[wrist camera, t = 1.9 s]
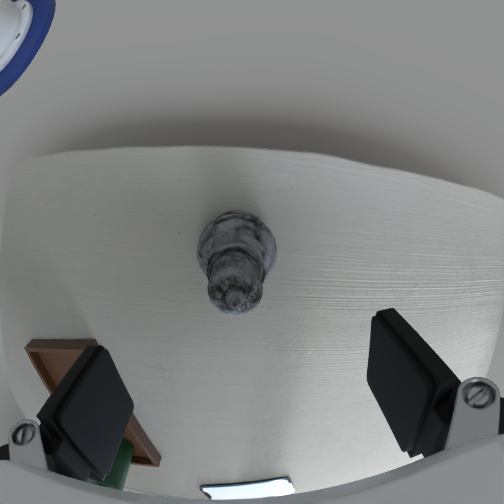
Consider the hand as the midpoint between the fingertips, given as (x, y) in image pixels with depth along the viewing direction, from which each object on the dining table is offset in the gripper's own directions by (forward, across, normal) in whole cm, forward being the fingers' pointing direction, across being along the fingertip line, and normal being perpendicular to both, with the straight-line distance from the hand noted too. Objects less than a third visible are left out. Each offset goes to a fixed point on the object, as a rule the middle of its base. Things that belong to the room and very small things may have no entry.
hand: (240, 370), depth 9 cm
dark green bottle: (+16, +23, +27) cm, 39 cm away
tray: (+16, +23, +20) cm, 35 cm away
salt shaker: (+16, 0, 0) cm, 17 cm away
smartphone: (+17, +6, +45) cm, 48 cm away
